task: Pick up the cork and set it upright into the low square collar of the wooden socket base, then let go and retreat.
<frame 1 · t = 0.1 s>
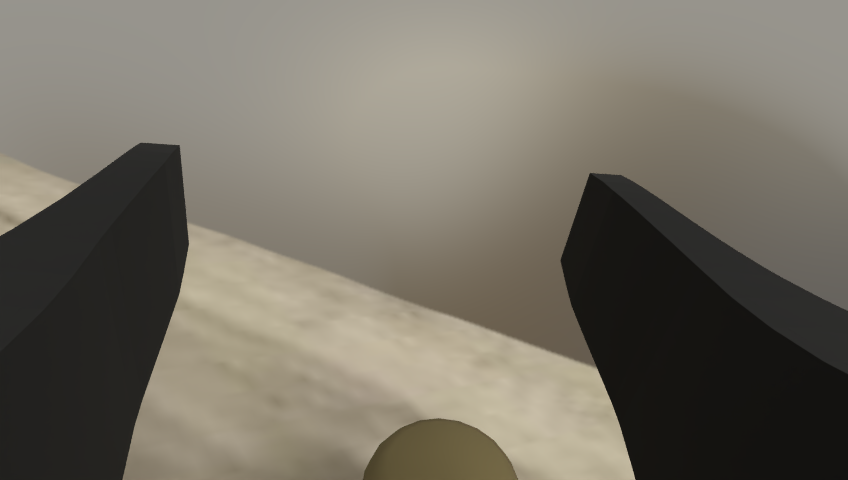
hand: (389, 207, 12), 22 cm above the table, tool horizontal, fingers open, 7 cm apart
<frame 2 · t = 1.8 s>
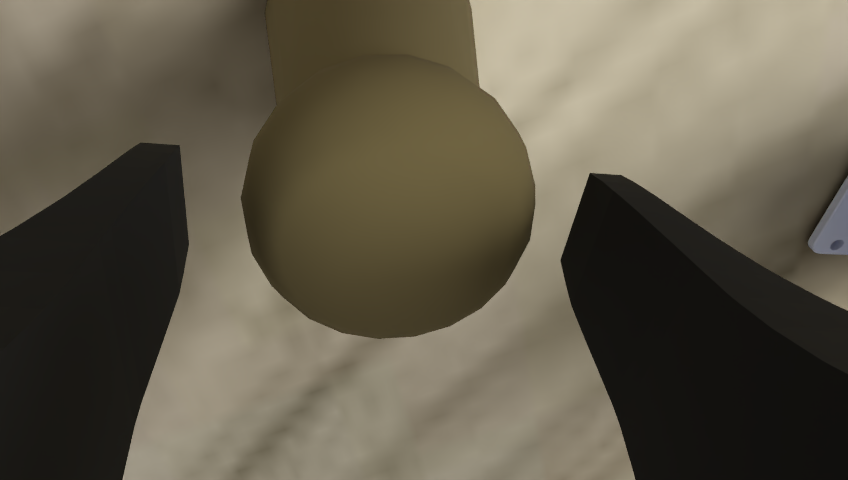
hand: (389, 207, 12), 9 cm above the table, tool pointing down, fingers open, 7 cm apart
cork: (369, 24, 19), on the table
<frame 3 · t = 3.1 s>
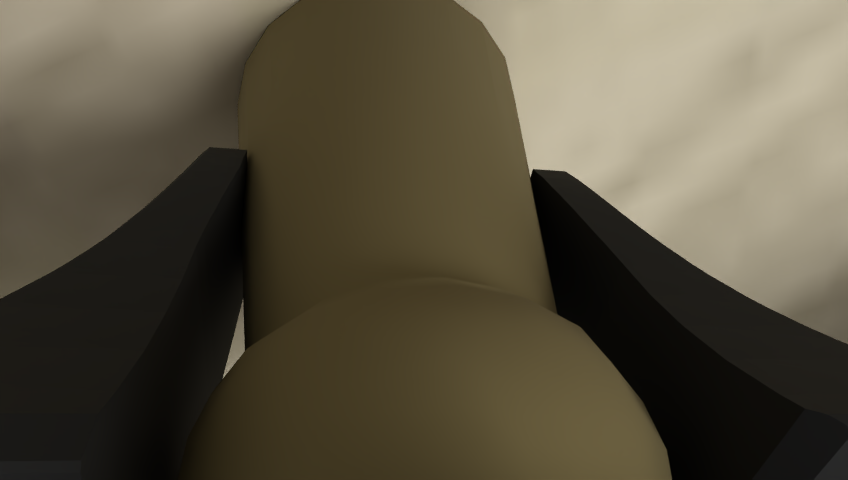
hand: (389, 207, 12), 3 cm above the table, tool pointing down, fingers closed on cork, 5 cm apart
cork: (378, 116, 14), on the table, touching gripper
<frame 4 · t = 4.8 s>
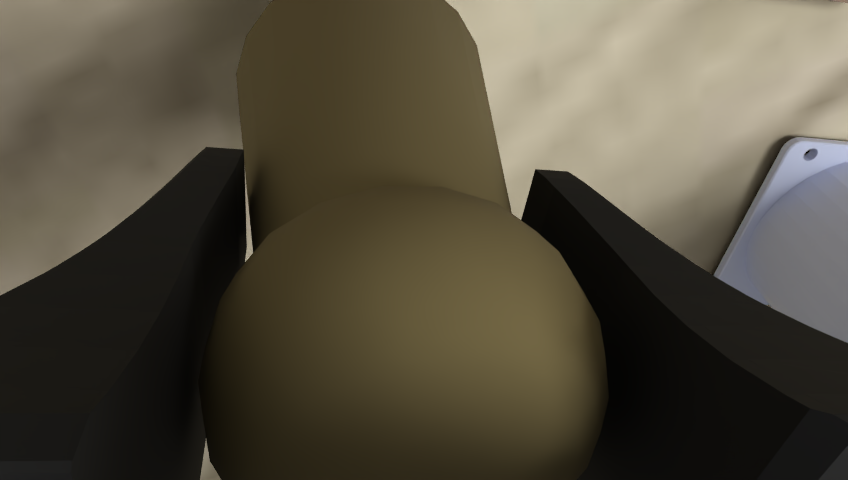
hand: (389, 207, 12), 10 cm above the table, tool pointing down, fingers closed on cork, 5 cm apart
cork: (362, 92, 16), point 5 cm above the table, touching gripper
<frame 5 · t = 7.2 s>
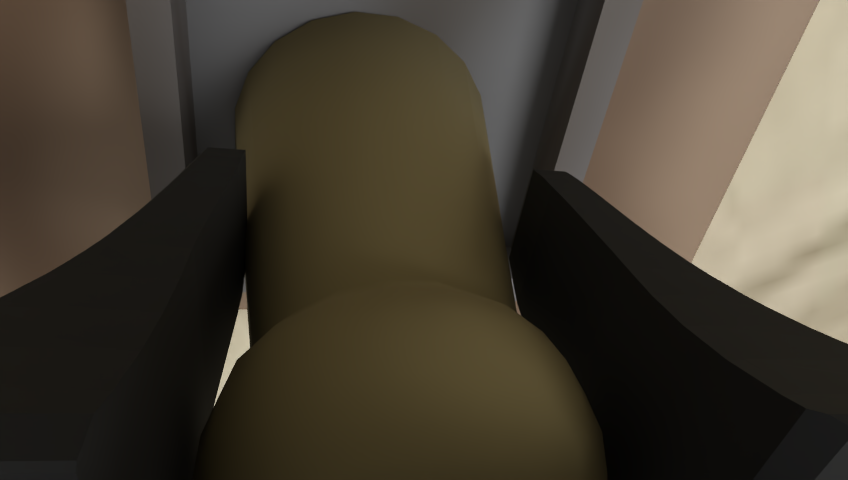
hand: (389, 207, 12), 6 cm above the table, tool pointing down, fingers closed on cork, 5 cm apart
wooden socket base: (375, 75, 16), on the table
cork: (361, 133, 16), point 1 cm above the table, touching wooden socket base, gripper
when the fingers open (6 cm above the table, at t = 7.9 s): cork stays where it is, resting on wooden socket base.
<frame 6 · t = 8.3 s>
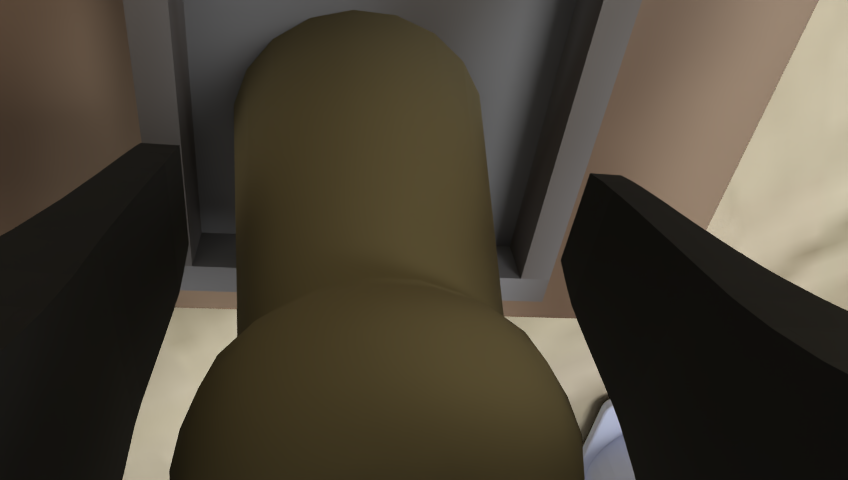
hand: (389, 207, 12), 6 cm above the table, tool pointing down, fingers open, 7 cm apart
wooden socket base: (373, 75, 16), on the table
cork: (360, 131, 16), point 1 cm above the table, touching wooden socket base
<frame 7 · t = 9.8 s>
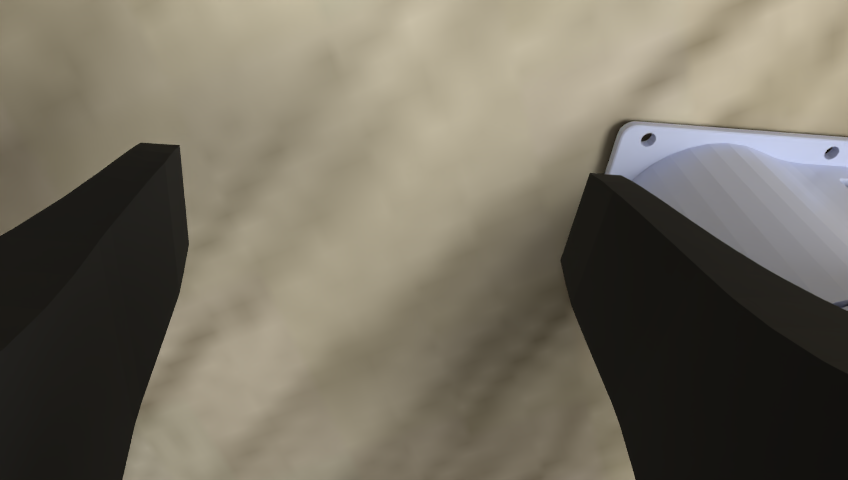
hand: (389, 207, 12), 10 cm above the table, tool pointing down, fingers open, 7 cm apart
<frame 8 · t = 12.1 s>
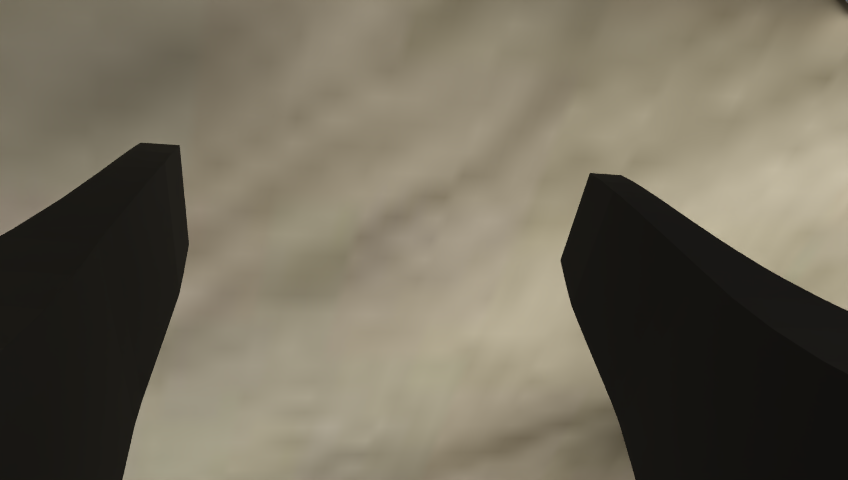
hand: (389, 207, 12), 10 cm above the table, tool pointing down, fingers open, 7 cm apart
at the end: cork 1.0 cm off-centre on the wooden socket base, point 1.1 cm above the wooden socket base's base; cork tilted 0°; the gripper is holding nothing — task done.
